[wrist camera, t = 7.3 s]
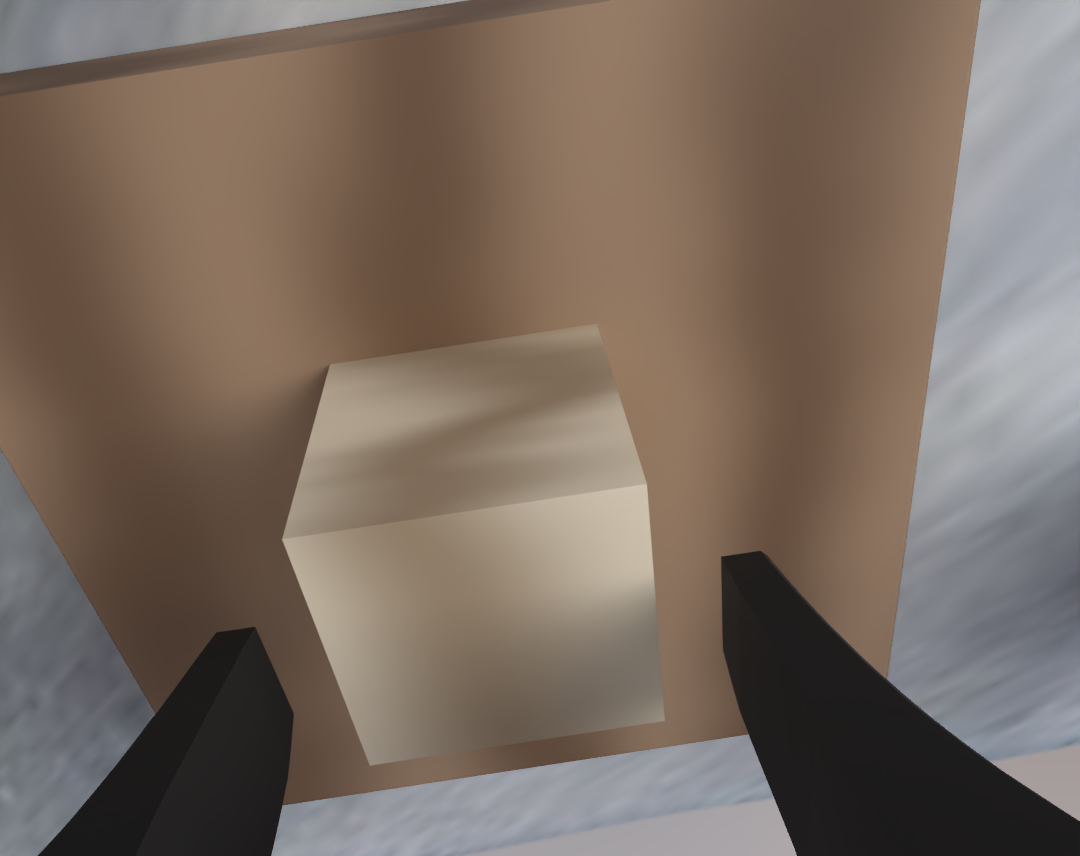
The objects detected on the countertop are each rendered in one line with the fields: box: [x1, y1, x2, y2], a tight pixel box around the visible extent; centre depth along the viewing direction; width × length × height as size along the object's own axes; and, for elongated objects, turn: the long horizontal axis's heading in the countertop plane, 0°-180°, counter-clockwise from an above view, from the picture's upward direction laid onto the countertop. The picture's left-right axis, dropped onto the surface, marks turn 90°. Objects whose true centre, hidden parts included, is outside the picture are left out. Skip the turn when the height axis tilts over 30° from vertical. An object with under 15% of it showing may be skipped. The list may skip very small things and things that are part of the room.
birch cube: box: [282, 324, 665, 766], centre depth 15 cm, size 5×5×5 cm
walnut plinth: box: [0, 0, 981, 805], centre depth 19 cm, size 18×18×3 cm
